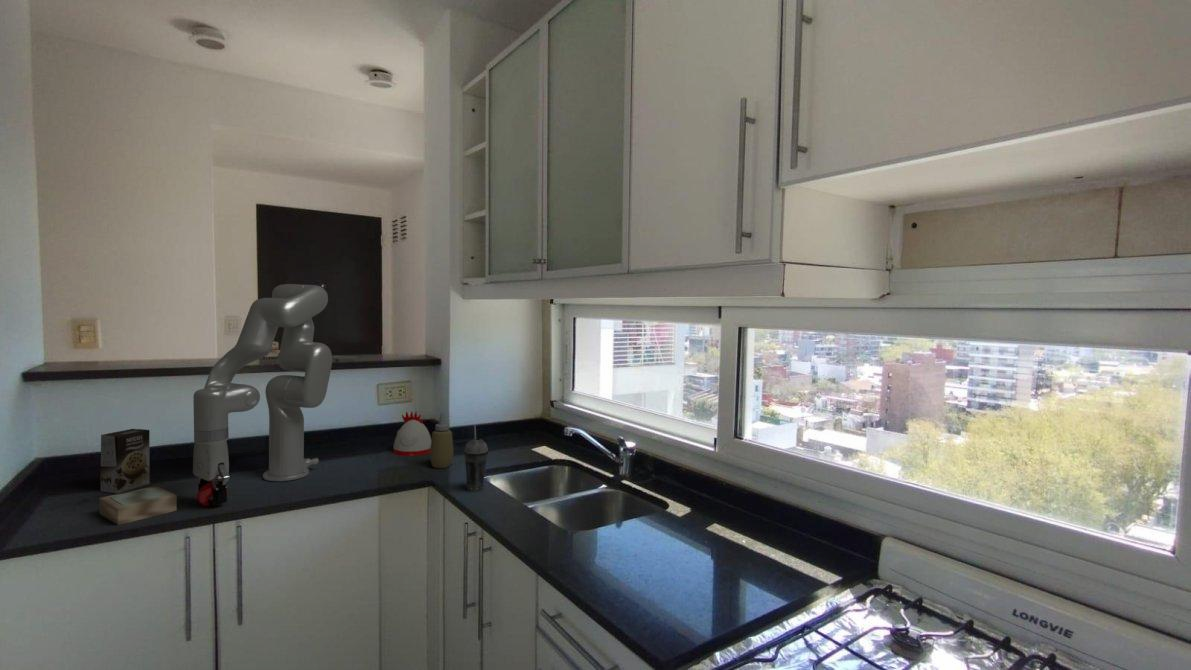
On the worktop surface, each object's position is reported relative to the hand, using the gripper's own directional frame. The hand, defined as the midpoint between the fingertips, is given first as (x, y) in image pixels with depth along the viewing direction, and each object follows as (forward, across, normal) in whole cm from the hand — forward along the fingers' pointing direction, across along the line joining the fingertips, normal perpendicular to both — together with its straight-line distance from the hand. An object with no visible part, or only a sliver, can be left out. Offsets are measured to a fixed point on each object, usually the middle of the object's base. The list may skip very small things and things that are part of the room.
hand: (212, 499), depth 148 cm
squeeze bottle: (+2, +20, +61) cm, 65 cm away
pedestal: (+1, -8, -14) cm, 16 cm away
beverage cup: (+2, +46, +51) cm, 69 cm away
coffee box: (+1, -32, -9) cm, 33 cm away
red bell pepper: (+1, 0, 0) cm, 1 cm away
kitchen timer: (+3, -3, +68) cm, 69 cm away
